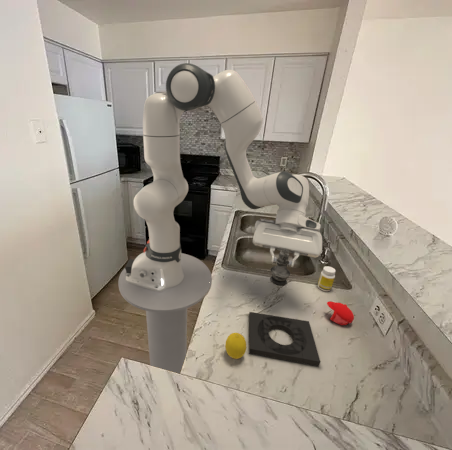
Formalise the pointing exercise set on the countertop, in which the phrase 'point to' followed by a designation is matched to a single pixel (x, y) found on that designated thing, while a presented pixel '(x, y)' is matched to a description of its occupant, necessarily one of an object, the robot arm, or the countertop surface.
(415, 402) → the countertop surface
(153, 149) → the robot arm
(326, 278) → the supplement bottle
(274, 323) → the pad
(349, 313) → the cap
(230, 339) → the lemon
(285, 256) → the dark grey statuette
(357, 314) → the countertop surface
